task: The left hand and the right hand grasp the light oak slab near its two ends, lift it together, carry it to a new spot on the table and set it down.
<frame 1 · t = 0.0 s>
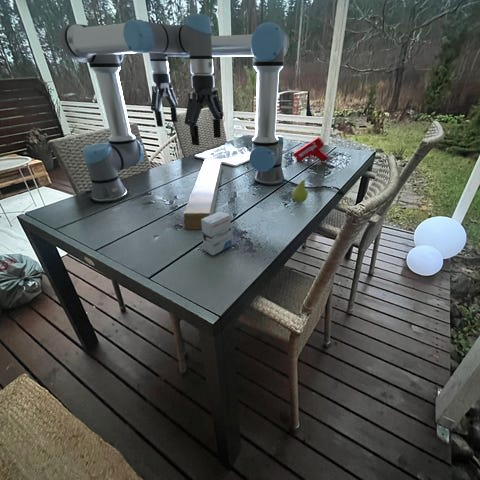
left hand: (207, 141, 102), 28 cm above the table, tool pointing down, fingers open, 13 cm apart
right hand: (167, 124, 132), 28 cm above the table, tool pointing down, fingers open, 13 cm apart
fruit: (299, 202, 122), on the table
ink box: (217, 248, 91), on the table
toy gun: (309, 161, 172), on the table
slab: (207, 193, 131), on the table
relief map: (227, 157, 183), on the table
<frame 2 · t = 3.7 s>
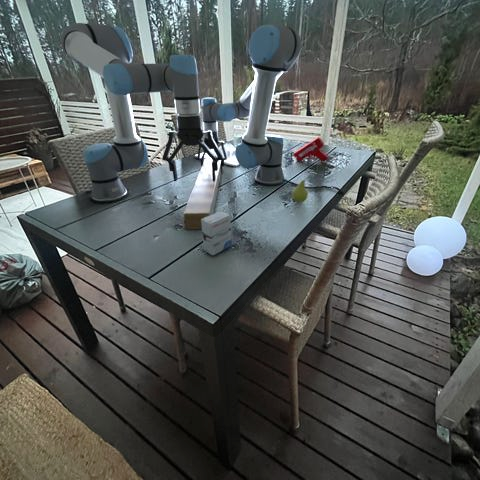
left hand: (195, 180, 96), 18 cm above the table, tool pointing down, fingers open, 13 cm apart
right hand: (213, 171, 156), 0 cm above the table, tool pointing down, fingers closed on slab, 9 cm apart
slab: (207, 193, 131), on the table, touching right hand
everything else where it was.
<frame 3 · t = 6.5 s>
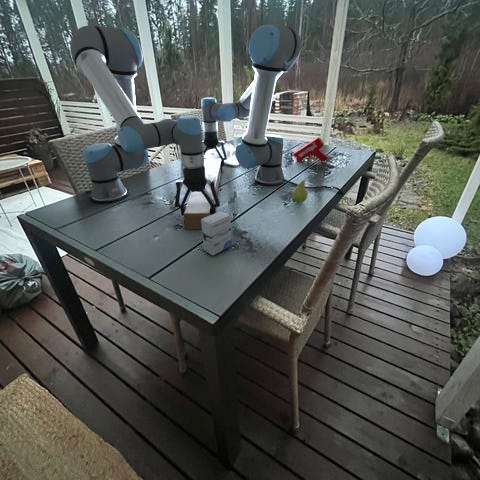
left hand: (199, 222, 105), 0 cm above the table, tool pointing down, fingers closed on slab, 9 cm apart
right hand: (213, 171, 156), 0 cm above the table, tool pointing down, fingers closed on slab, 9 cm apart
slab: (207, 193, 131), on the table, touching right hand, left hand
everything else where it was.
when the left hand's fingers open (2 cm above the table, at t = 13.2 s): slab stays where it is, on the table.
when the right hand's fingers open (2 cm above the table, at t = 13.3 s): slab stays where it is, on the table.
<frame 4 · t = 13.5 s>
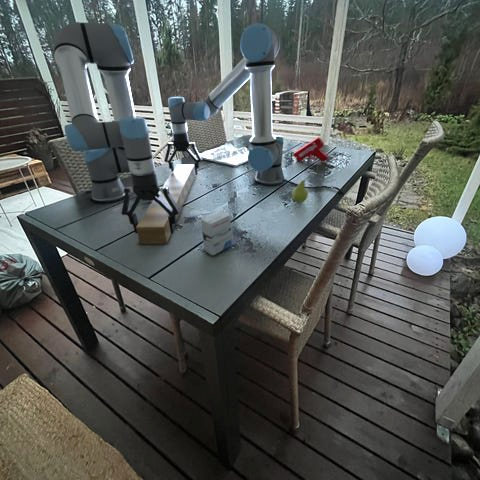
left hand: (155, 231, 96), 2 cm above the table, tool pointing down, fingers open, 12 cm apart
right hand: (184, 174, 146), 2 cm above the table, tool pointing down, fingers open, 12 cm apart
slab: (174, 202, 122), on the table
everything else where it was.
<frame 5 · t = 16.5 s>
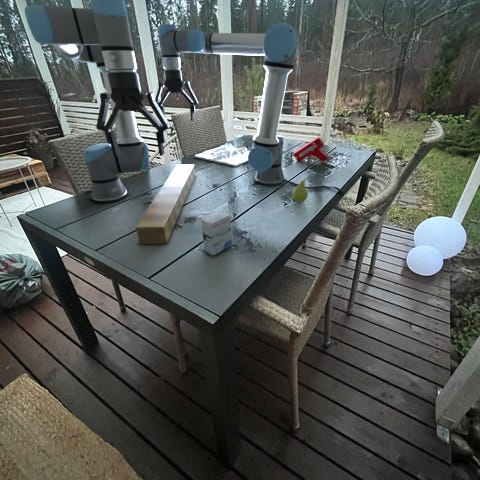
left hand: (139, 154, 81), 29 cm above the table, tool pointing down, fingers open, 13 cm apart
right hand: (178, 120, 132), 29 cm above the table, tool pointing down, fingers open, 13 cm apart
nothing on the table moved.
at the end: slab inside the target area (0.2 cm from its centre), on the table; slab tilted 0°; slab never tilted more than 1° during the clip; both hands held the slab at the same time; the left hand is holding nothing; the right hand is holding nothing; slab at rest at the end (0.0 cm/s) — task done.
